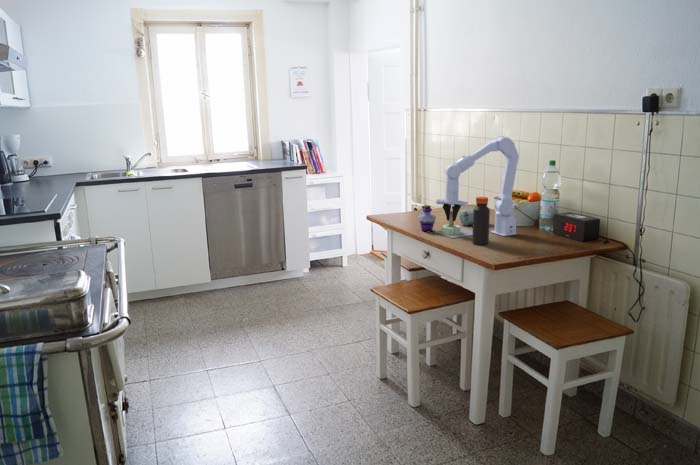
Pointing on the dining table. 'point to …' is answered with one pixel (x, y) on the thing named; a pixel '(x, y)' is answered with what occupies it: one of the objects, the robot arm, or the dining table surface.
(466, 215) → the yarn skein
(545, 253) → the dining table surface
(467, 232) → the mat
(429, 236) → the dining table surface
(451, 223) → the wooden dowel
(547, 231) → the dining table surface
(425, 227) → the potion bottle
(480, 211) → the vinegar
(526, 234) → the dining table surface
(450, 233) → the bead
